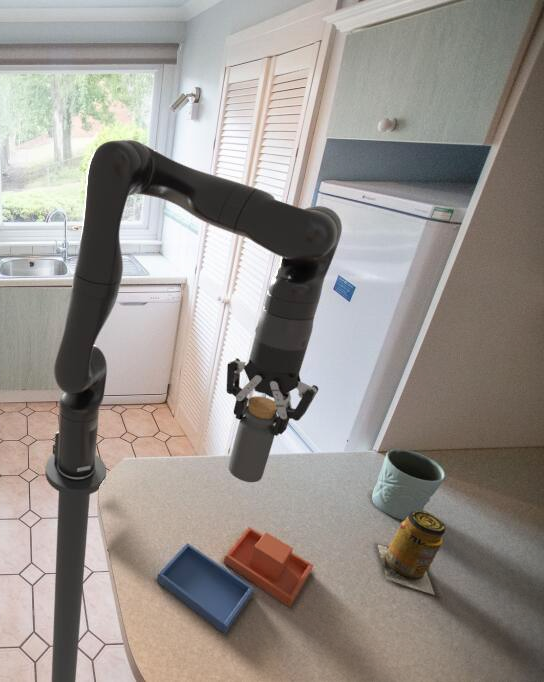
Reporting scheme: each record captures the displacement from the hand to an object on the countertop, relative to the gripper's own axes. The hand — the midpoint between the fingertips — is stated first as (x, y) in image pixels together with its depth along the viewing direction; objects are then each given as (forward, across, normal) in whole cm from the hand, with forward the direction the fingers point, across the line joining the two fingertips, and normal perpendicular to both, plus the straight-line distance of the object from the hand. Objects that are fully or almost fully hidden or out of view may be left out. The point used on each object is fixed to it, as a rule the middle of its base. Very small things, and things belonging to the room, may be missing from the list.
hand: (257, 424), depth 79 cm
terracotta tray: (+29, -8, 0) cm, 30 cm away
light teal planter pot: (+29, -22, -37) cm, 52 cm away
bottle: (+11, 0, 0) cm, 11 cm away
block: (+29, -8, 0) cm, 30 cm away
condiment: (+29, -26, -19) cm, 44 cm away
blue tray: (+29, -2, +12) cm, 32 cm away
